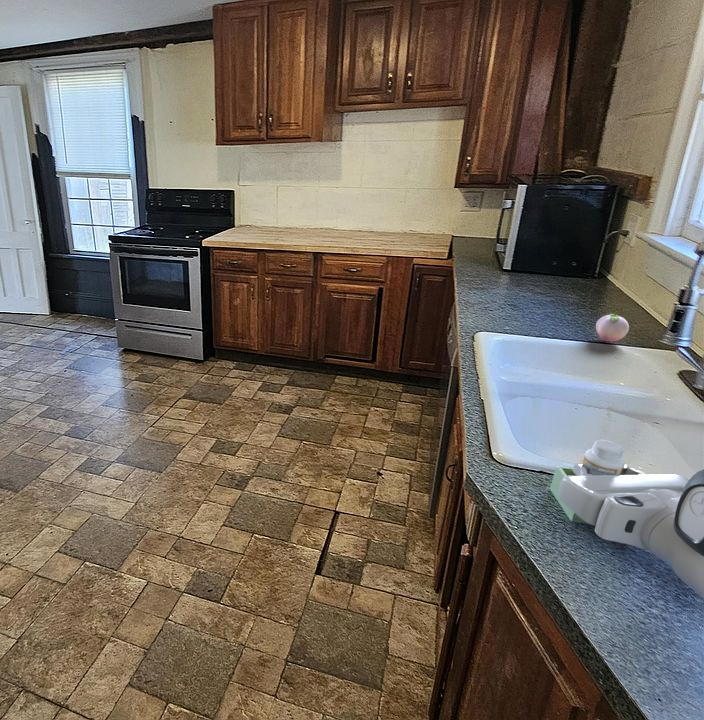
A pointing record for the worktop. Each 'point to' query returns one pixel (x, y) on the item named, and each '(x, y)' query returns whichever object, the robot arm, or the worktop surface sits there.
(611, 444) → the supplement bottle
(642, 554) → the worktop surface
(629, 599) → the worktop surface
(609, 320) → the decorative fruit
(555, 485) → the bin
